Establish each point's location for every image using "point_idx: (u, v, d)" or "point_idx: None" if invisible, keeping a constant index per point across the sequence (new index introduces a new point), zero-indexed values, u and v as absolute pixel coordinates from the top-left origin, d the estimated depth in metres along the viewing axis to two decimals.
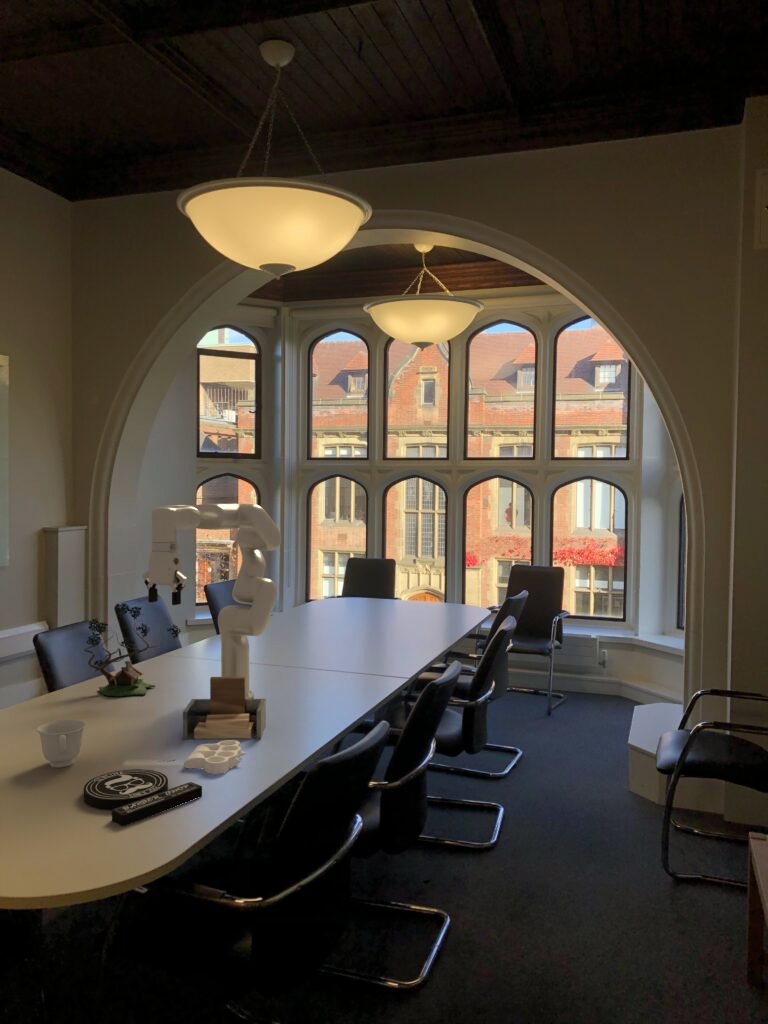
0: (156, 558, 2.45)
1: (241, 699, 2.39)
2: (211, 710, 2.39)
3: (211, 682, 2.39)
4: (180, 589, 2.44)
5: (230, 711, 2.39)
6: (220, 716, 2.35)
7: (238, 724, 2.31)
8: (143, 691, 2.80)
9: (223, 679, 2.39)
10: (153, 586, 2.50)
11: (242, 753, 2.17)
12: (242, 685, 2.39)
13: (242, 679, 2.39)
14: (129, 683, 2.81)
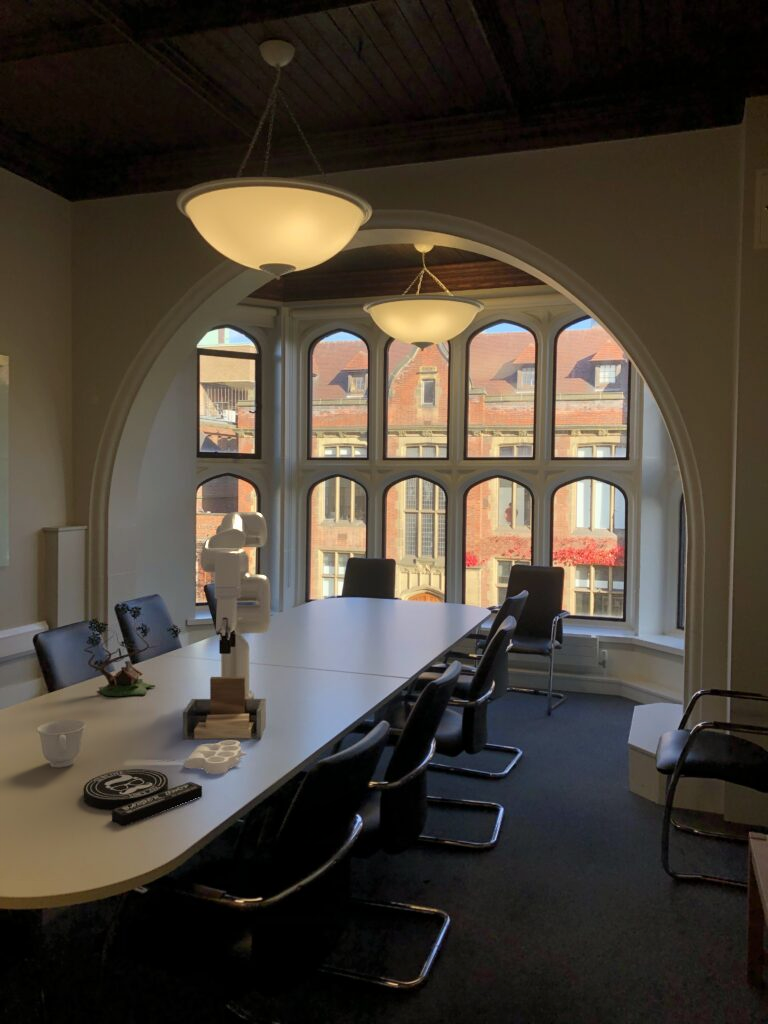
0: (235, 603, 2.38)
1: (241, 699, 2.39)
2: (211, 710, 2.39)
3: (211, 682, 2.39)
4: None
5: (230, 711, 2.39)
6: (220, 716, 2.35)
7: (238, 724, 2.31)
8: (143, 691, 2.80)
9: (223, 679, 2.39)
10: None
11: (242, 753, 2.17)
12: (242, 685, 2.39)
13: (242, 679, 2.39)
14: (129, 683, 2.81)
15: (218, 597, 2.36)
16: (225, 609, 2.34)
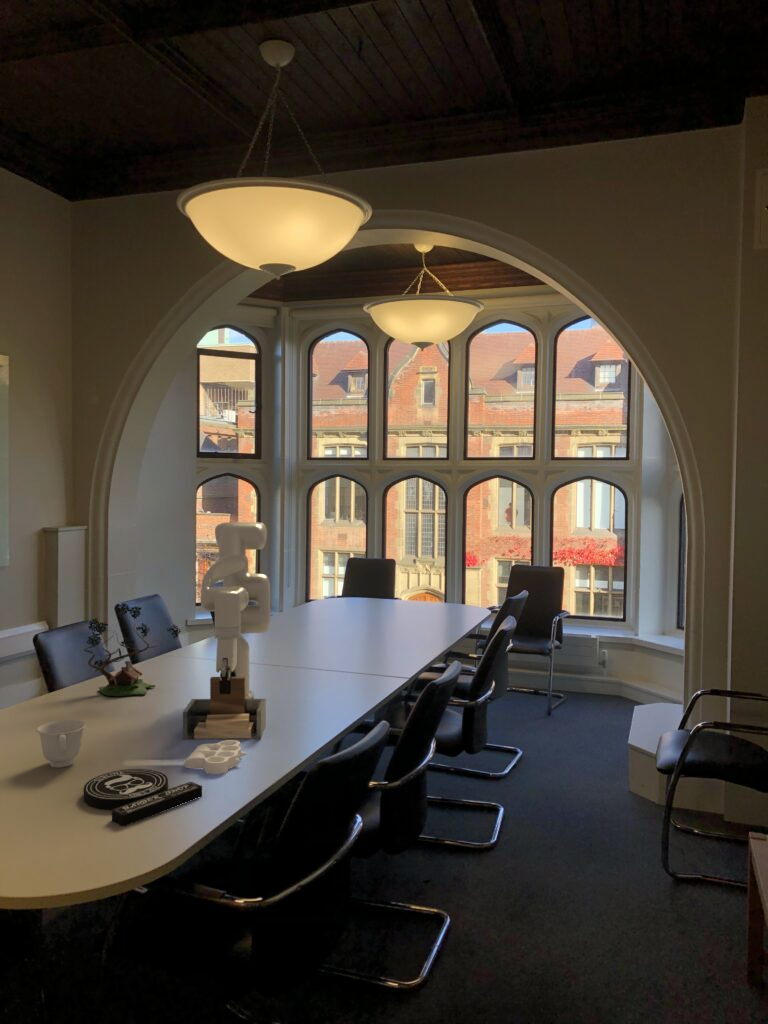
0: (235, 643, 2.39)
1: (241, 699, 2.39)
2: (211, 710, 2.39)
3: (211, 682, 2.39)
4: None
5: (230, 711, 2.39)
6: (220, 716, 2.35)
7: (238, 724, 2.31)
8: (143, 691, 2.80)
9: None
10: None
11: (242, 753, 2.17)
12: (242, 685, 2.39)
13: (242, 679, 2.39)
14: (129, 683, 2.81)
15: (218, 637, 2.36)
16: (225, 649, 2.35)
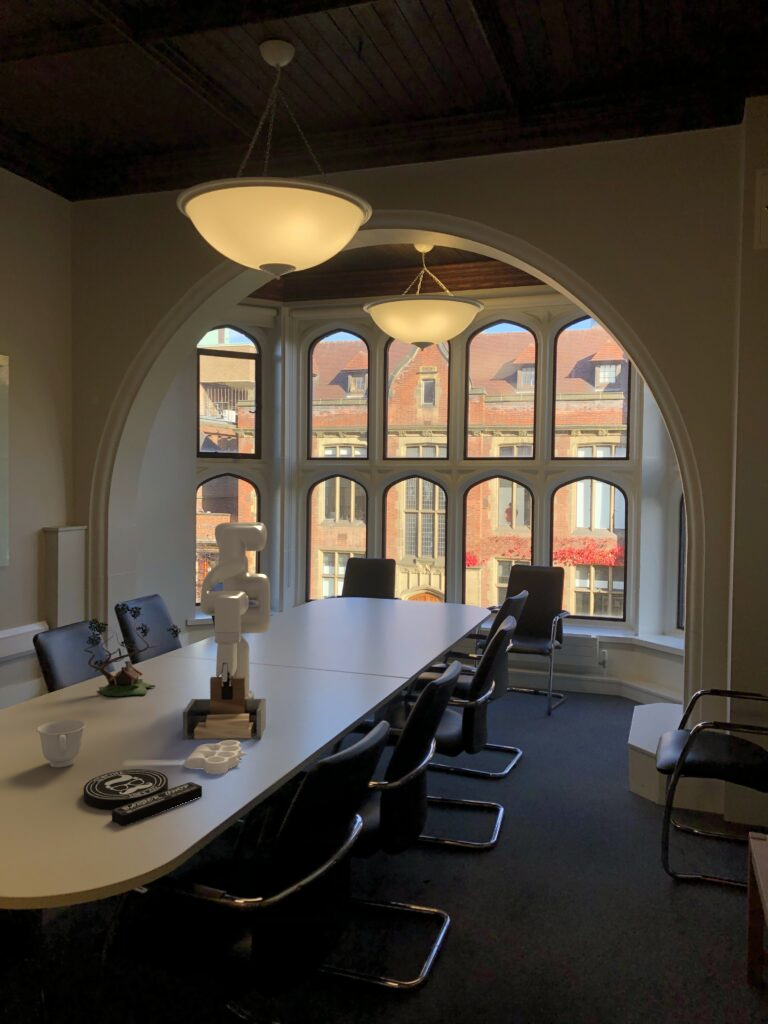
0: (235, 647, 2.39)
1: (241, 699, 2.39)
2: (211, 710, 2.39)
3: (211, 683, 2.39)
4: None
5: (230, 711, 2.39)
6: (220, 716, 2.35)
7: (238, 724, 2.31)
8: (143, 691, 2.80)
9: None
10: None
11: (242, 753, 2.17)
12: (242, 685, 2.39)
13: (242, 679, 2.39)
14: (129, 683, 2.81)
15: (218, 642, 2.36)
16: (225, 654, 2.35)
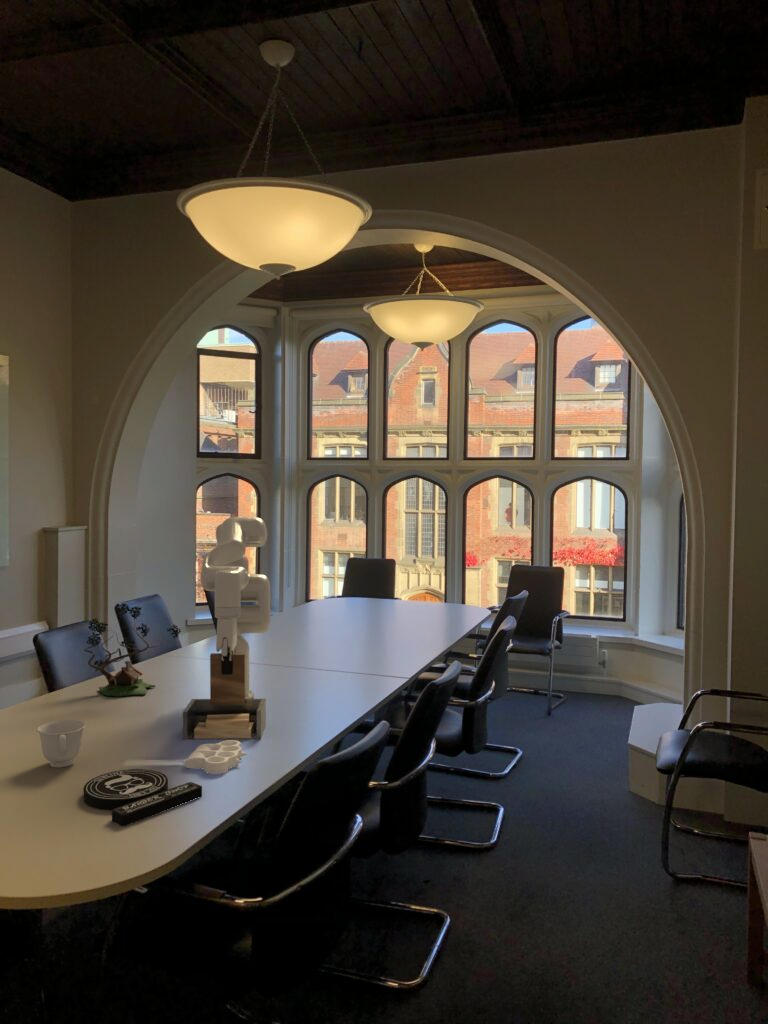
0: (235, 622, 2.39)
1: (241, 676, 2.39)
2: (211, 686, 2.39)
3: (211, 659, 2.39)
4: None
5: (230, 687, 2.39)
6: (220, 716, 2.35)
7: (238, 724, 2.31)
8: (143, 691, 2.80)
9: None
10: None
11: (243, 753, 2.17)
12: (242, 662, 2.39)
13: (242, 656, 2.39)
14: (129, 683, 2.81)
15: (218, 617, 2.36)
16: (225, 629, 2.34)
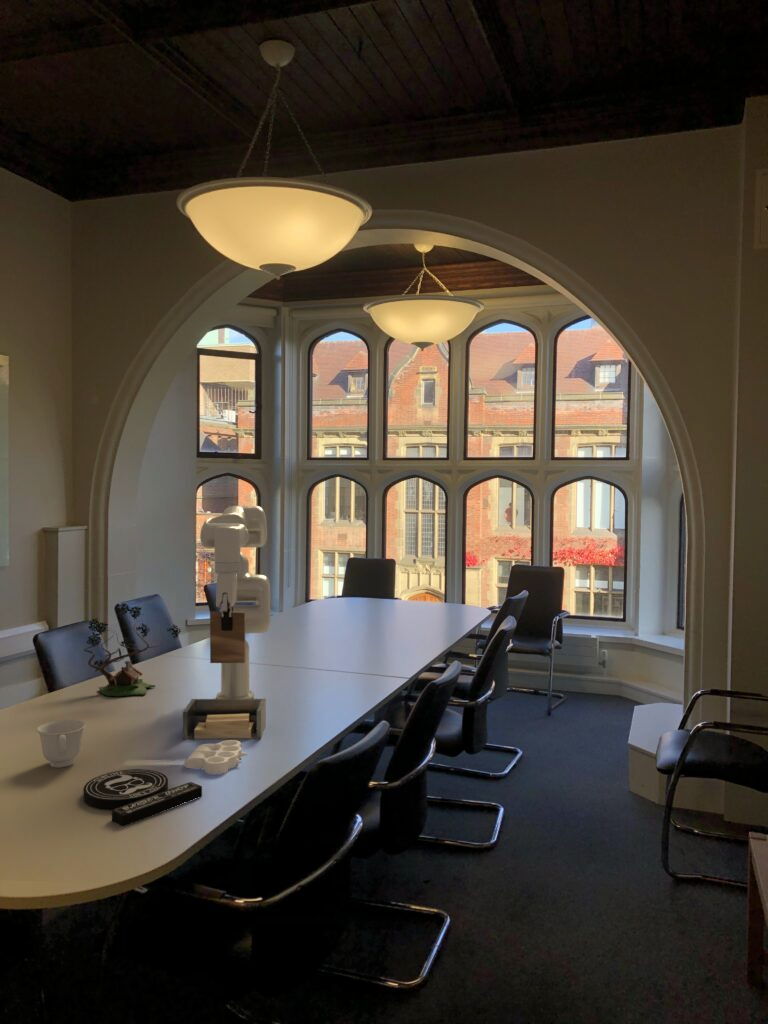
0: (235, 578, 2.38)
1: (241, 634, 2.39)
2: (211, 644, 2.39)
3: (211, 617, 2.38)
4: None
5: (230, 645, 2.39)
6: (220, 716, 2.35)
7: (238, 724, 2.31)
8: (143, 691, 2.80)
9: None
10: None
11: (243, 753, 2.17)
12: (242, 619, 2.38)
13: (242, 613, 2.38)
14: (129, 683, 2.81)
15: (218, 572, 2.35)
16: (225, 584, 2.34)
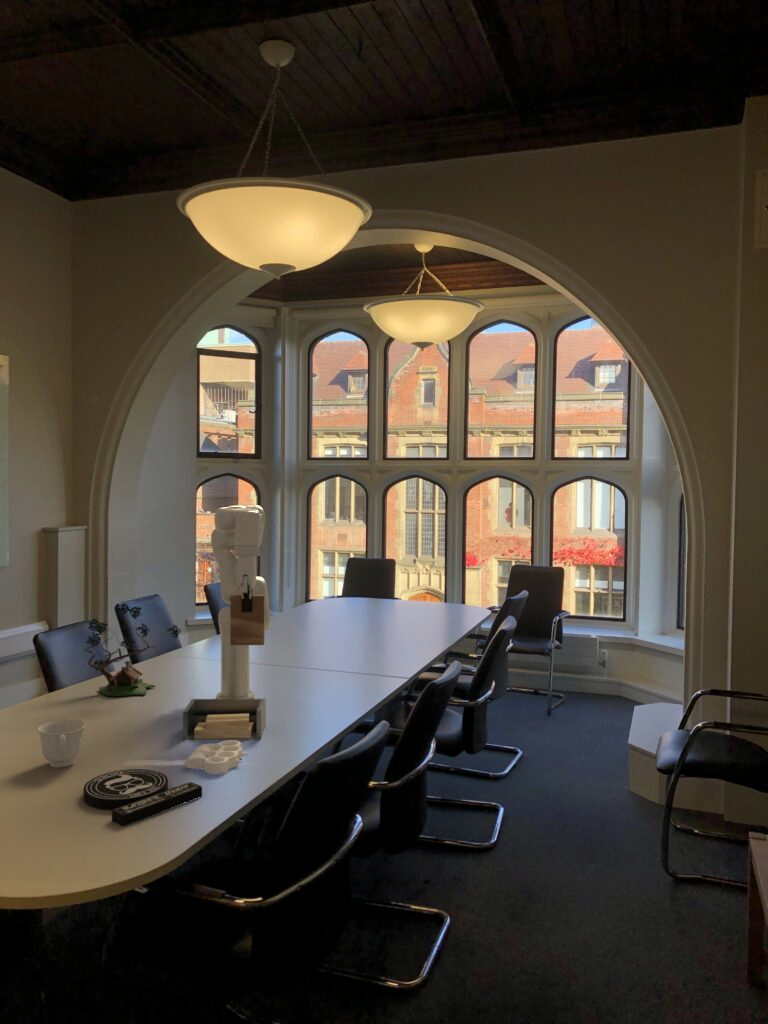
0: (255, 561, 2.45)
1: (260, 616, 2.45)
2: (231, 627, 2.45)
3: (231, 600, 2.45)
4: None
5: (250, 628, 2.45)
6: (220, 716, 2.35)
7: (238, 724, 2.31)
8: (143, 691, 2.80)
9: None
10: None
11: (243, 753, 2.17)
12: (262, 603, 2.45)
13: (262, 597, 2.45)
14: (129, 683, 2.81)
15: (238, 555, 2.42)
16: (245, 566, 2.40)
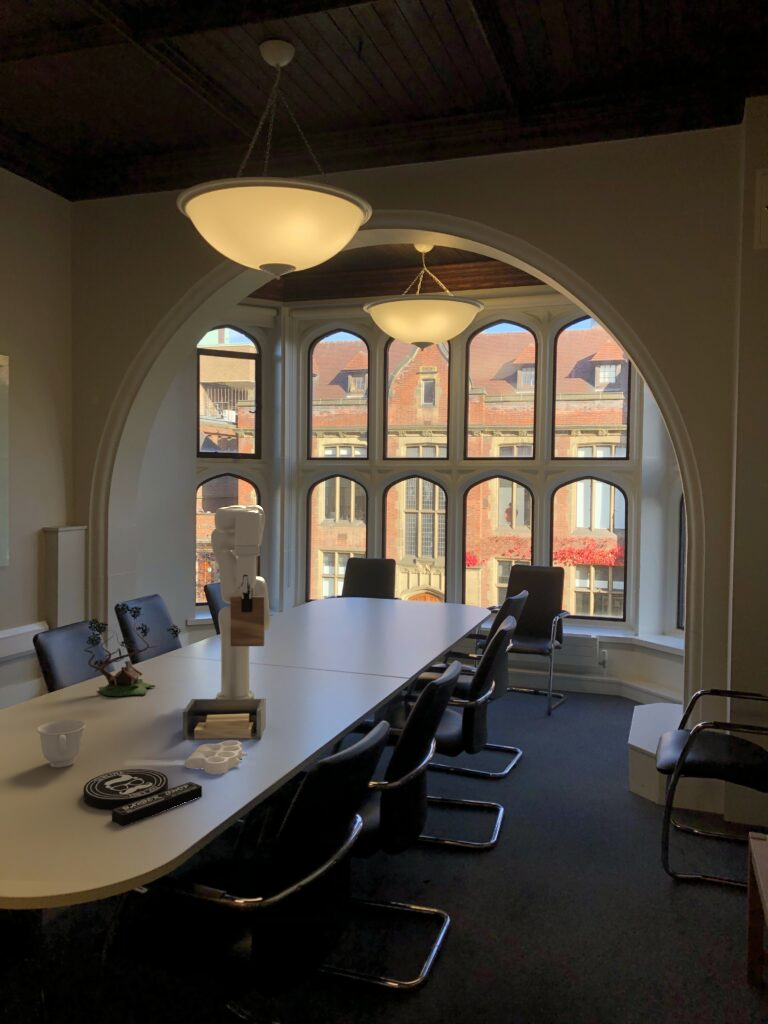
0: (255, 561, 2.45)
1: (260, 618, 2.45)
2: (231, 628, 2.45)
3: (231, 601, 2.45)
4: None
5: (250, 629, 2.45)
6: (220, 716, 2.35)
7: (238, 724, 2.31)
8: (143, 691, 2.80)
9: None
10: None
11: (243, 754, 2.17)
12: (261, 604, 2.45)
13: (261, 598, 2.45)
14: (129, 683, 2.81)
15: (238, 555, 2.42)
16: (245, 566, 2.40)
